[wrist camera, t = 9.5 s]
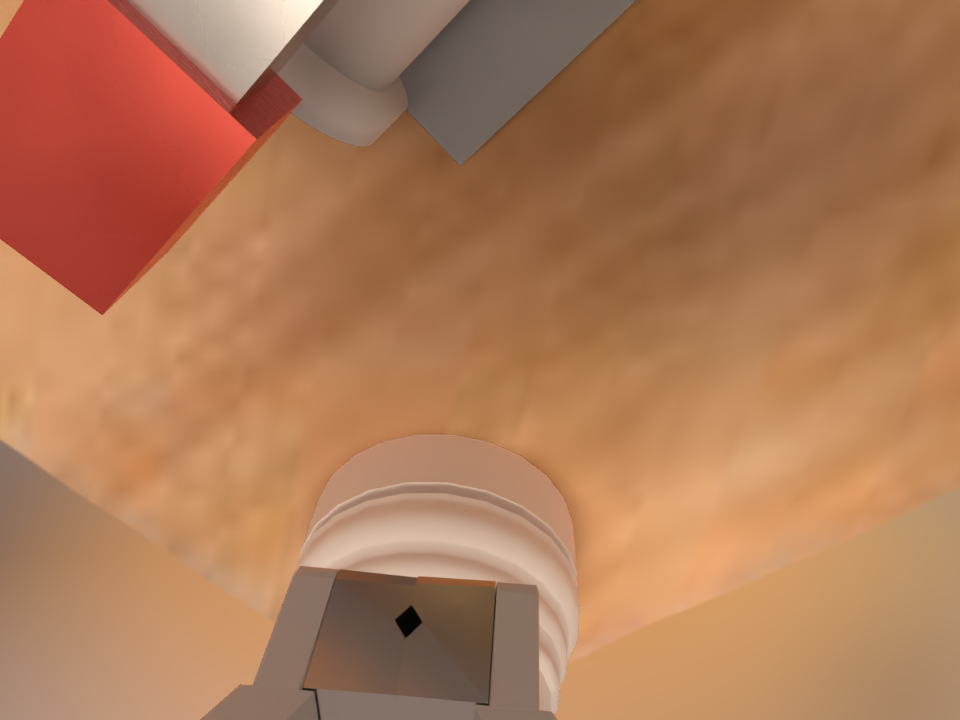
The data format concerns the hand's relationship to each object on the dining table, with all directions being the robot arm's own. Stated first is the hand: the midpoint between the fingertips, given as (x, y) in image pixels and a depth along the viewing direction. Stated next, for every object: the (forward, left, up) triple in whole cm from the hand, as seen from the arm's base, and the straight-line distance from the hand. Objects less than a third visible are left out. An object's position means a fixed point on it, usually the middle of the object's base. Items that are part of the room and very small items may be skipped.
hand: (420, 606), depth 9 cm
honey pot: (+14, +12, -20) cm, 27 cm away
